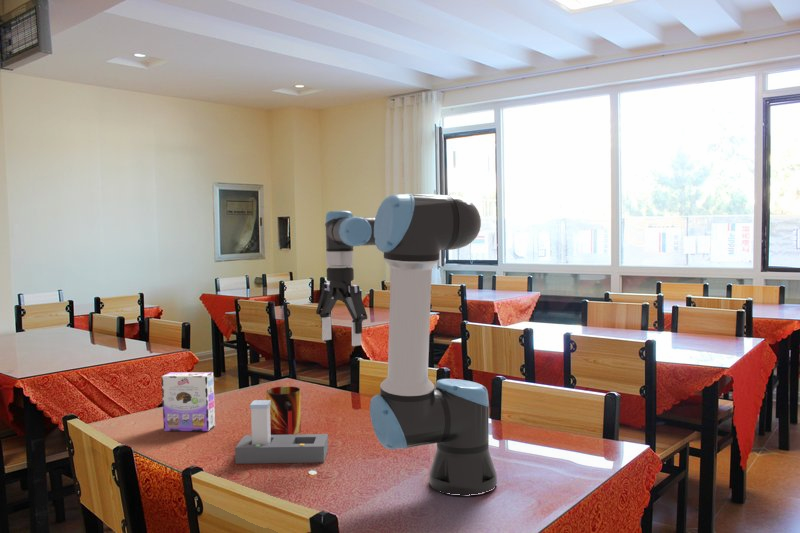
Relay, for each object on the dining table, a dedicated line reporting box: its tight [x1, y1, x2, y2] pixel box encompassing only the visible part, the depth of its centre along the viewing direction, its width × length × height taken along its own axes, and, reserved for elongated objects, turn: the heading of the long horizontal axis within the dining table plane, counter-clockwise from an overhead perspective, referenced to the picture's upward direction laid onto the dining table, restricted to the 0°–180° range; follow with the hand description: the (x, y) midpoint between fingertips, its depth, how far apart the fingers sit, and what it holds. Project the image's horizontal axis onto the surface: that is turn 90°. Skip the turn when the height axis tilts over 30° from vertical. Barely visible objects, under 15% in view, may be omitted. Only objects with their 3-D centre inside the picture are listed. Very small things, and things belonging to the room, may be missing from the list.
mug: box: [265, 385, 302, 435], centre depth 183 cm, size 10×14×12 cm
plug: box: [249, 399, 271, 445], centre depth 163 cm, size 4×4×14 cm
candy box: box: [161, 371, 216, 432], centre depth 188 cm, size 14×6×16 cm, turn 84°
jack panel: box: [234, 433, 329, 464], centre depth 163 cm, size 10×22×4 cm, turn 90°
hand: (341, 342), depth 178 cm, fingers open, 13 cm apart
